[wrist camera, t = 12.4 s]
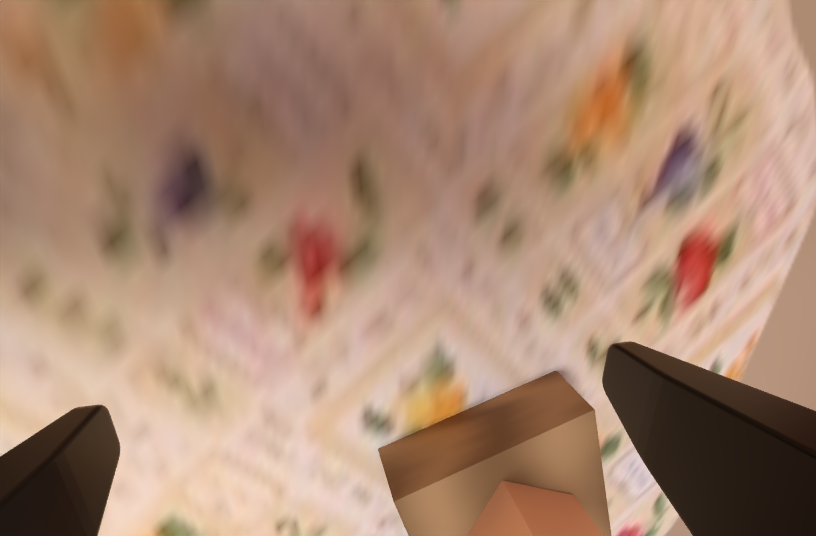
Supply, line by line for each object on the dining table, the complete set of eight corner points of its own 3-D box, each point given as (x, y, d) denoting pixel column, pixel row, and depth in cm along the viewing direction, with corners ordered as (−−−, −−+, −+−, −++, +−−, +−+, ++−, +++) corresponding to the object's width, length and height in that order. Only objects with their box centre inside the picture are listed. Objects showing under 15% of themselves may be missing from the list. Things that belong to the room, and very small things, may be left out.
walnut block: (426, 560, 30) (447, 624, 27) (376, 443, 26) (393, 501, 22) (573, 489, 32) (612, 541, 28) (551, 366, 27) (594, 409, 24)
